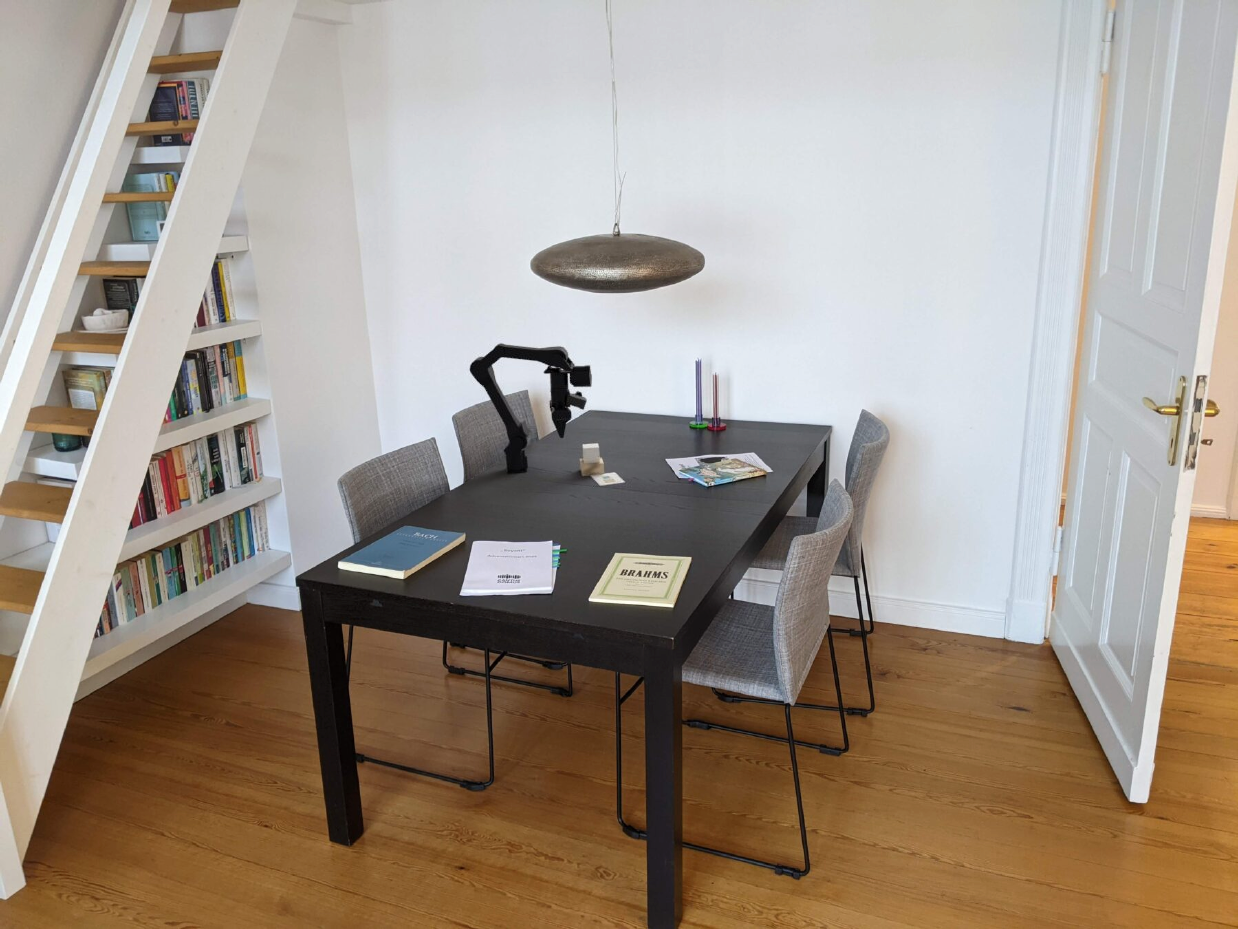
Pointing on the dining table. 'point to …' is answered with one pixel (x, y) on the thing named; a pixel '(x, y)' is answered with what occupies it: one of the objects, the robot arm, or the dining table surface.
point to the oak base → (591, 468)
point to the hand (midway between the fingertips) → (561, 434)
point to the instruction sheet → (607, 479)
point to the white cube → (591, 453)
